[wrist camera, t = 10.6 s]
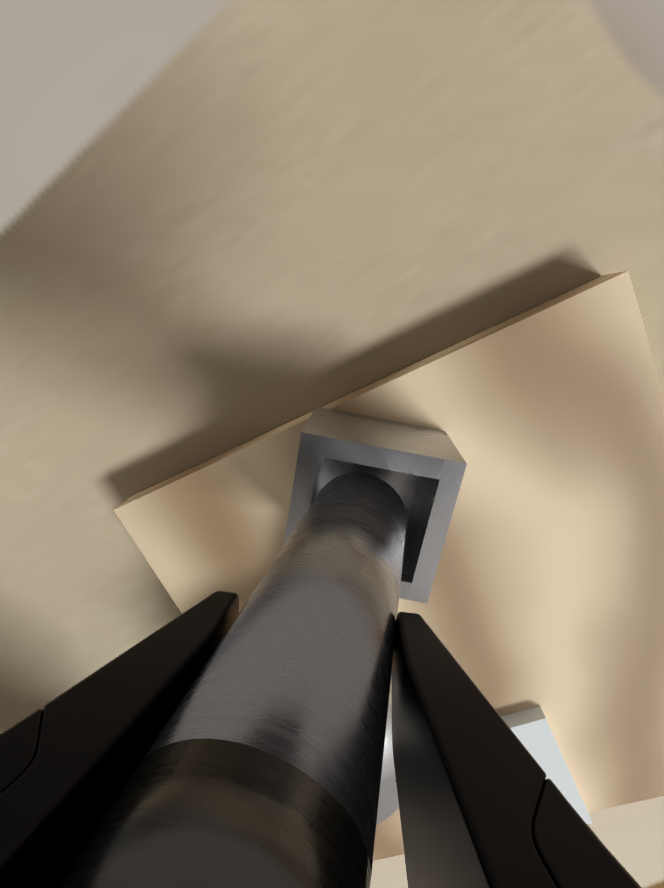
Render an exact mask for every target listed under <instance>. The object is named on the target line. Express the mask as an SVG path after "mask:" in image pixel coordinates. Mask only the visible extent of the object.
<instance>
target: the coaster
mask: <svg viewBox="0 0 664 888" xmlns="http://www.w3.org/2000/svg"><path fill="white" fill-rule="evenodd" d="M501 717H502V719H503V720H504V721H505V723H506V724H507V725H508V726H509V728H510V729H511V730H512V731H513V733H514V734H515V735H516V736H517V738H518V739H519V740H520V741H521V743H522V744H523V745H524V747H525V748H526V749H527V750H528V752H529V753H530V754H531V755H532V757H533V758H534V759H535V760H536V762H537V763H538V764H539V765H540V767H541V768H542V769H543V771H544V772H545V773H546V779H547V778H548V779H551V780H552V782H553V783H554V784H555V785H556V787H557V788H558V789H559V790H560V792H561V793H562V794H563V795H564V797H565V798H566V799H567V801H568V802H569V803H570V804H571V806H572V807H573V808H574V809H575V810H576V812H577V813H578V814H579V815H580V816H581V818H582V819H583V820H584V821H585V823H586V824H590V823H593V822H592V820H591V818H590V816H589V813H588V811H587V809H586V807H585V804H584V802H583V800H582V798H581V795H580V793H579V791H578V789H577V787H576V784H575V782H574V780H573V778H572V775H571V773H570V771H569V769H568V766H567V764H566V762H565V760H564V758H563V755H562V753H561V751H560V749H559V746H558V744H557V742H556V740H555V737H554V735H553V733H552V731H551V728H550V726H549V724H548V722H547V720H546V717H545V715H544V713H543V711H542V708H541V706H537V707H533V708H530V709H526V710H522V711H519V712H515V713H512V714H508V715H505V716H501ZM546 779H545V780H546Z"/></svg>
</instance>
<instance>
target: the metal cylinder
mask: <svg viewBox="0 0 664 888" xmlns="http://www.w3.org/2000/svg"><path fill="white" fill-rule="evenodd" d="M406 525H407V516H406V510H405V506H404V504H403V501H402V500H401V498H400V496H399V495H398V493H397V492H396V491H395V490H394V489H393V488H392V487H391V486H390V485H389V484H388V483H386V482H385V481H383V480H382V479H380V478H377V477H375V476H372V475H369V474H364V473H349V474H344V475H341V476H338V477H336V478H334V479H332V480H331V481H329V482H328V483H327V484H326V485H325V486H324V487H323V488H322V489H321V491H320V492H319V494H318V495H317V497H316V498H315V500H314V501H313V503H312V504H311V506H310V507H309V509H308V510H307V512H306V513H305V515H304V516H303V518H302V519H301V521H300V522H299V524H298V525H297V527H296V528H295V530H294V531H293V533H292V534H291V536H290V537H289V539H288V540H287V542H286V543H285V545H284V546H283V548H282V549H281V551H280V552H279V554H278V555H277V557H276V558H275V560H274V561H273V563H272V564H271V566H270V568H269V569H268V571H267V572H266V574H265V575H264V577H263V578H262V580H261V581H260V583H259V584H258V586H257V587H256V589H255V590H254V592H253V593H252V595H251V596H250V598H249V599H248V601H247V602H246V604H245V605H244V607H243V608H242V610H241V611H240V613H239V614H238V616H237V617H236V619H235V620H234V622H233V623H232V625H231V626H230V628H229V629H228V631H227V632H226V634H225V635H224V637H223V638H222V640H221V641H220V643H219V645H218V646H217V648H216V649H215V651H214V652H213V654H212V655H211V657H210V658H209V660H208V661H207V663H206V664H205V666H204V667H203V669H202V670H201V672H200V673H199V675H198V676H197V678H196V679H195V681H194V682H193V684H192V685H191V687H190V688H189V690H188V691H187V693H186V694H185V696H184V697H183V699H182V700H181V702H180V703H179V705H178V706H177V708H176V709H175V711H174V712H173V714H172V715H171V717H170V718H169V720H168V721H167V723H166V725H165V726H164V728H163V729H162V731H161V732H160V734H159V735H158V737H157V738H156V740H155V741H154V743H153V744H152V746H151V747H150V749H149V750H148V752H147V753H146V755H145V756H144V758H143V759H142V761H141V762H140V764H139V765H138V767H137V768H136V770H135V771H134V773H133V774H132V776H131V777H130V779H129V780H128V782H127V783H126V785H125V786H124V788H123V789H122V791H121V792H120V794H119V795H118V797H117V798H116V800H115V802H114V803H113V805H112V806H111V808H110V809H109V811H108V812H107V814H106V815H105V817H104V818H103V820H102V821H101V823H100V824H99V826H98V827H97V829H96V830H95V832H94V833H93V835H92V836H91V838H90V839H89V841H88V842H87V844H86V845H85V847H84V848H83V850H82V851H81V853H80V854H79V856H78V857H77V859H76V860H75V862H74V863H73V865H72V866H71V868H70V869H69V871H68V872H67V874H66V875H65V877H64V878H63V880H62V882H61V883H60V885H59V886H58V888H370V882H371V872H372V862H373V852H374V842H375V832H376V822H377V813H378V803H379V793H380V783H381V773H382V763H383V753H384V743H385V733H386V723H387V713H388V704H389V694H390V684H391V674H392V664H393V654H394V644H395V629H396V617H397V614H398V605H399V595H400V585H401V575H402V565H403V555H404V545H405V535H406Z"/></svg>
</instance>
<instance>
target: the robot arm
mask: <svg viewBox="0 0 664 888" xmlns="http://www.w3.org/2000/svg"><path fill="white" fill-rule="evenodd" d="M238 614H239V597H238V595H237V593H235V592H226V591H216V592H214V593H213V594H211V595H210V596H208V597H207V598H205V599H204V600H202V601H201V602H199V603H198V604H196V605H195V606H193V607H192V608H190V609H189V610H187V611H186V612H184V613H183V614H181V615H180V616H178V617H177V618H175V619H174V620H172V621H171V622H169V623H168V624H166V625H165V626H163V627H162V628H160V629H159V630H157V631H156V632H154V633H153V634H151V635H150V636H148V637H147V638H145V639H144V640H142V641H141V642H139V643H137V644H136V645H134V646H133V647H131V648H130V649H128V650H127V651H125V652H124V653H122V654H121V655H119V656H118V657H116V658H115V659H113V660H112V661H110V662H109V663H107V664H106V665H104V666H103V667H101V668H100V669H98V670H97V671H95V672H94V673H92V674H91V675H89V676H88V677H86V678H85V679H83V680H82V681H80V682H79V683H77V684H76V685H74V686H73V687H71V688H70V689H68V690H67V691H65V692H64V693H62V694H61V695H59V696H58V697H56V698H55V699H53V700H52V701H50V702H49V703H47V704H46V705H45V706H44V710H42V709H38V710H37V711H35V712H34V713H32V714H31V715H29V716H28V717H26V718H25V719H23V720H22V721H20V722H19V723H17V724H16V725H14V726H13V727H11V728H9V729H8V730H6V731H5V732H3V733H2V734H0V888H58V886H59V885H60V883H61V882H62V880H63V878H64V877H65V875H66V874H67V872H68V871H69V869H70V868H71V866H72V865H73V863H74V862H75V860H76V859H77V857H78V856H79V854H80V853H81V851H82V850H83V848H84V847H85V845H86V844H87V842H88V841H89V839H90V838H91V836H92V835H93V833H94V832H95V830H96V829H97V827H98V826H99V824H100V823H101V821H102V820H103V818H104V817H105V815H106V814H107V812H108V811H109V809H110V808H111V806H112V805H113V803H114V802H115V800H116V798H117V797H118V795H119V794H120V792H121V791H122V789H123V788H124V786H125V785H126V783H127V782H128V780H129V779H130V777H131V776H132V774H133V773H134V771H135V770H136V768H137V767H138V765H139V764H140V762H141V761H142V759H143V758H144V756H145V755H146V753H147V752H148V750H149V749H150V747H151V746H152V744H153V743H154V741H155V740H156V738H157V737H158V735H159V734H160V732H161V731H162V729H163V728H164V726H165V725H166V723H167V721H168V720H169V718H170V717H171V715H172V714H173V712H174V711H175V709H176V708H177V706H178V705H179V703H180V702H181V700H182V699H183V697H184V696H185V694H186V693H187V691H188V690H189V688H190V687H191V685H192V684H193V682H194V681H195V679H196V678H197V676H198V675H199V673H200V672H201V670H202V669H203V667H204V666H205V664H206V663H207V661H208V660H209V658H210V657H211V655H212V654H213V652H214V651H215V649H216V648H217V646H218V645H219V643H220V641H221V640H222V638H223V637H224V635H225V634H226V632H227V631H228V629H229V628H230V626H231V625H232V623H233V622H234V620H235V619H236V617H237V616H238ZM391 679H392V747H393V758H394V768H395V777H396V785H397V794H398V803H399V811H400V820H401V828H402V837H403V846H404V854H405V863H406V872H407V880H408V888H641V886H640V885H639V884H638V883H637V882H636V881H635V880H634V878H633V877H632V876H631V875H630V874H629V873H628V872H627V871H626V869H625V868H624V867H623V866H622V865H621V864H620V863H619V861H618V860H617V859H616V858H615V857H614V856H613V855H612V854H611V852H610V851H609V850H608V849H607V848H606V847H605V846H604V844H603V843H602V842H601V841H600V839H599V838H598V837H597V836H596V835H595V833H594V832H593V831H592V830H591V829H590V827H589V826H588V825H587V824H586V823H585V821H584V820H583V819H582V818H581V816H580V815H579V814H578V813H577V812H576V810H575V809H574V808H573V807H572V806H571V804H570V803H569V802H568V801H567V799H566V798H565V797H564V795H563V794H562V793H561V792H560V790H559V789H558V788H557V787H556V785H555V784H554V783H553V782H552V780H551V779H548V778H547V779H546V773H545V772H544V771H543V769H542V768H541V767H540V765H539V764H538V763H537V762H536V760H535V759H534V758H533V757H532V755H531V754H530V753H529V752H528V750H527V749H526V748H525V747H524V745H523V744H522V743H521V741H520V740H519V739H518V738H517V736H516V735H515V734H514V733H513V731H512V730H511V729H510V728H509V726H508V725H507V724H506V723H505V721H504V720H503V719H502V717H501V716H500V715H499V714H498V712H497V711H496V710H495V709H494V707H493V706H492V705H491V704H490V702H489V701H488V700H487V699H486V697H485V696H484V695H483V693H482V692H481V691H480V690H479V688H478V687H477V686H476V685H475V683H474V682H473V681H472V680H471V678H470V677H469V676H468V675H467V673H466V672H465V671H464V669H463V668H462V667H461V666H460V664H459V663H458V662H457V661H456V659H455V658H454V657H453V656H452V654H451V653H450V652H449V650H448V649H447V648H446V647H445V645H444V644H443V643H442V642H441V640H440V639H439V638H438V637H437V635H436V634H435V633H434V632H433V630H432V629H431V628H430V626H429V625H428V624H427V623H426V621H425V620H424V619H423V618H422V616H421V615H419V614H416V613H408V612H399V613H398V614H397V617H396V629H395V644H394V654H393V664H392V674H391ZM545 779H546V780H545Z"/></svg>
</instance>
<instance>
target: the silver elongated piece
mask: <svg viewBox="0 0 664 888" xmlns="http://www.w3.org/2000/svg"><path fill="white" fill-rule="evenodd" d="M466 465H467V463H466V462H465V460H464V459H463V457H462V456H461V454H460V453H459V451H458V450H457V448H456V447H455V445H454V444H453V442H452V440H451V439H450V437H449V436H448V434H447V433H446V431H444V430H438V429H433V428H428V427H422V426H417V425H412V424H406V423H401V422H396V421H391V420H385V419H380V418H375V417H369V416H364V415H359V414H353V413H348V412H343V411H337V410H332V409H327V408H322V407H316V408H315V410H314V412H313V413H312V415H311V417H310V418H309V420H308V422H307V423H306V425H305V427H304V429H303V430H302V432H301V438H300V444H299V450H298V457H297V463H296V470H295V476H294V482H293V489H292V495H291V501H290V508H289V514H288V520H287V527H286V533H285V539H284V545H285V543H286V542H287V540H288V539H289V537H290V536H291V534H292V533H293V531H294V530H295V528H296V527H297V525H298V524H299V522H300V521H301V519H302V518H303V516H304V515H305V513H306V512H307V510H308V509H309V507H310V506H311V504H312V503H313V501H314V500H315V498H316V497H317V495H318V494H319V492H320V491H321V489H322V488H323V487H324V486H325V485H326V484H327V483H328V482H329V481H331V480H332V479H334V478H336V477H338V476H341V475H344V474H349V473H364V474H369V475H372V476H375V477H377V478H380V479H382V480H383V481H385V482H386V483H388V484H389V485H390V486H391V487H392V488H393V489H394V490H395V491H396V492H397V493H398V495H399V496H400V498H401V500H402V501H403V504H404V506H405V510H406V516H407V525H406V535H405V545H404V555H403V565H402V575H401V585H400V595H399V598H401V599H406V600H411V601H416V602H421V603H426V604H427V602H428V598H429V595H430V591H431V588H432V584H433V581H434V577H435V574H436V570H437V567H438V563H439V560H440V556H441V553H442V549H443V546H444V542H445V539H446V535H447V532H448V528H449V525H450V521H451V518H452V514H453V511H454V507H455V504H456V500H457V497H458V493H459V490H460V486H461V483H462V479H463V476H464V472H465V469H466ZM398 808H399V803H398V794H397V785H396V777H395V768H394V758H393V747H392V679H391V684H390V694H389V704H388V713H387V723H386V733H385V743H384V753H383V763H382V773H381V783H380V793H379V803H378V813H377V822H376V825H378V824H379V823H381V822H383V821H384V820H386V819H387V818H388V817H390V816H391V815H392V814H393V813H394V812H395V811H396V810H397V809H398Z"/></svg>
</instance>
